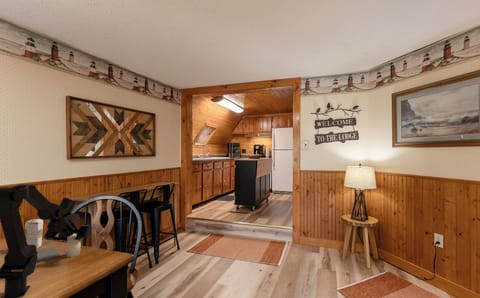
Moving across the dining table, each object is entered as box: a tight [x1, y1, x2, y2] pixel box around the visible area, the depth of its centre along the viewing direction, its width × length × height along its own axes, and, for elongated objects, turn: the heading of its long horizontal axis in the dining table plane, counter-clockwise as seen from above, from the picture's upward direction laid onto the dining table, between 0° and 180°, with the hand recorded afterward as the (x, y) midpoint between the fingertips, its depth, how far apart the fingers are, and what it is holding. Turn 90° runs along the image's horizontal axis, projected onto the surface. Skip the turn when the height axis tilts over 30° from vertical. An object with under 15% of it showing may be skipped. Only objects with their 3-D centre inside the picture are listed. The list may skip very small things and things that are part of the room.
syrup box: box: [24, 218, 44, 250], centre depth 123 cm, size 6×6×14 cm
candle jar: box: [65, 234, 82, 258], centre depth 115 cm, size 6×6×10 cm
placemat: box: [36, 245, 61, 263], centre depth 115 cm, size 16×11×1 cm
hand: (75, 240), depth 117 cm, fingers closed on candle jar, 6 cm apart
